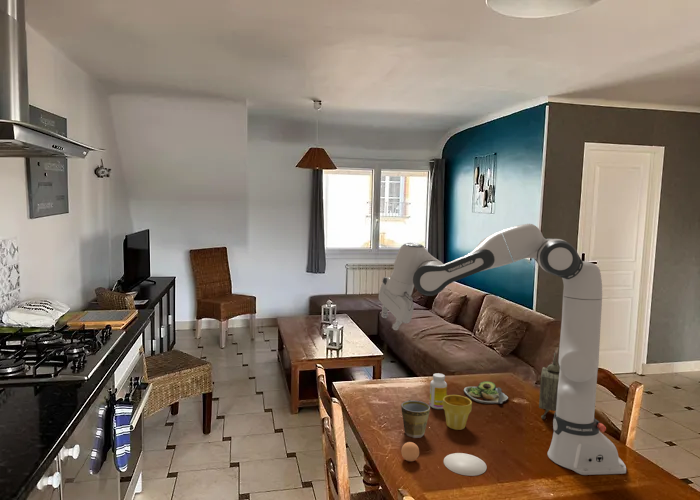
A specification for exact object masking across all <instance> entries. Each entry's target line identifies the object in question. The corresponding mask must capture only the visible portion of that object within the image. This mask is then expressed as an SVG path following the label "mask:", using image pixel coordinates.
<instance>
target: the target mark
mask: <svg viewBox="0 0 700 500" xmlns="http://www.w3.org/2000/svg"><path fill="white" fill-rule="evenodd" d="M443 465H444V466H445V467H446V468H447V469H448V470H449V471H451V472H453V473H455V474H457V475H462V476H468V477H469V476H470V477H476V476H481V475H482V474H484V473H485V472H486V471H487V468H488V467H487V464H486V462H485V461H484V460H482V459H481V458H479V457H478V456H475V455H473V454H470V453H469V454H468V453H463V452H455V453H450V454H447V455H446V456H445V457H444V458H443Z"/></svg>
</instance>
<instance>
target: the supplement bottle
mask: <svg viewBox="0 0 700 500" xmlns="http://www.w3.org/2000/svg"><path fill="white" fill-rule="evenodd" d="M432 378H433V379H432V380H431V381H430V383H429V404H428V405H429V406H430V408H433V409H435V410H444V409H443V398H444V397H445V396H448V393H447V391H448V383H447V382H446V381H445V379H446V375H445V374H443V373H439V372H438V373H433V375H432Z"/></svg>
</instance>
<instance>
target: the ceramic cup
mask: <svg viewBox="0 0 700 500" xmlns="http://www.w3.org/2000/svg"><path fill="white" fill-rule="evenodd" d="M400 405H401V408H400V409H401V415H402V421H403V429H404V433H405V434H406V436H407V437H410V438H413V439H418V438H419V439H420V438H422V437H423V436H424V435H425V433H426V428H427V423H428V420H429V415H430V410H431V406H430V404H428V403H426V402H424V401H421V400H411V399H408V400H406V401H404V402H402V403H401V404H400Z"/></svg>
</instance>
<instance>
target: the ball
mask: <svg viewBox="0 0 700 500" xmlns="http://www.w3.org/2000/svg"><path fill="white" fill-rule="evenodd" d="M400 450H401V455H402V458H403V459H404V460H405V461H407V462H414V461H417V459H418V458H419V456H420V448H419V446H418V445H417V444H416V443H414V442H412V441H407V442H405V443H404V444H403V445H402V446H401V449H400Z"/></svg>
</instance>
